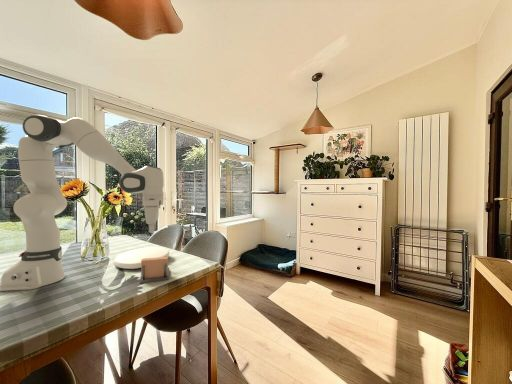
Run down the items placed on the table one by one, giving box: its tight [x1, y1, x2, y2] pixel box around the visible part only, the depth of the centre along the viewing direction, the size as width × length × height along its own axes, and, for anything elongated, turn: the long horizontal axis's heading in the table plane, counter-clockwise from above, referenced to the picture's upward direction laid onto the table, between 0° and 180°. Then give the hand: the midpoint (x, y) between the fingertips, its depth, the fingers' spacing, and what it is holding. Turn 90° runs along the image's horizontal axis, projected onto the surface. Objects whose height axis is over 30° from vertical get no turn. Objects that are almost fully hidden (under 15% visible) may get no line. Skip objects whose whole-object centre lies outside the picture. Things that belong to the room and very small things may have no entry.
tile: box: [140, 256, 169, 279], centre depth 105 cm, size 11×3×8 cm, turn 110°
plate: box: [113, 246, 170, 270], centre depth 127 cm, size 28×6×27 cm
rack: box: [139, 256, 170, 284], centre depth 108 cm, size 12×13×7 cm
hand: (152, 230), depth 106 cm, fingers open, 8 cm apart
